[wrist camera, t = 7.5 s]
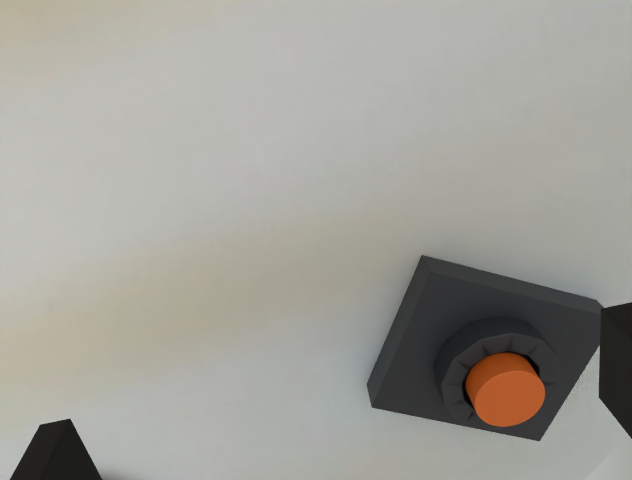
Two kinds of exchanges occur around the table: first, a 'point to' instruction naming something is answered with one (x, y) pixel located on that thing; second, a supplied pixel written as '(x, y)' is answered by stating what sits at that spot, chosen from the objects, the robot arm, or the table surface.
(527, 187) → the table surface
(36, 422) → the table surface
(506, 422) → the button
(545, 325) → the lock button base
